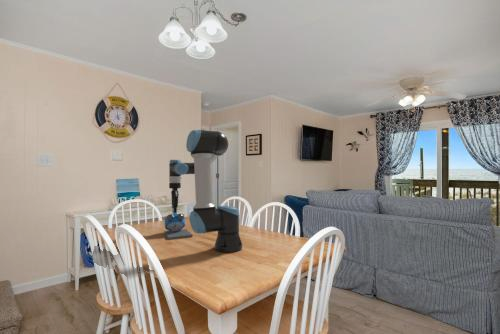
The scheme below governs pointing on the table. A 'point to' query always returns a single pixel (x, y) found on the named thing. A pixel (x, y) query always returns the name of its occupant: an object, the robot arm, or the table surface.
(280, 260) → the table surface
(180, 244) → the table surface
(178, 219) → the alarm clock
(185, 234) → the mat
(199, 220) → the robot arm
